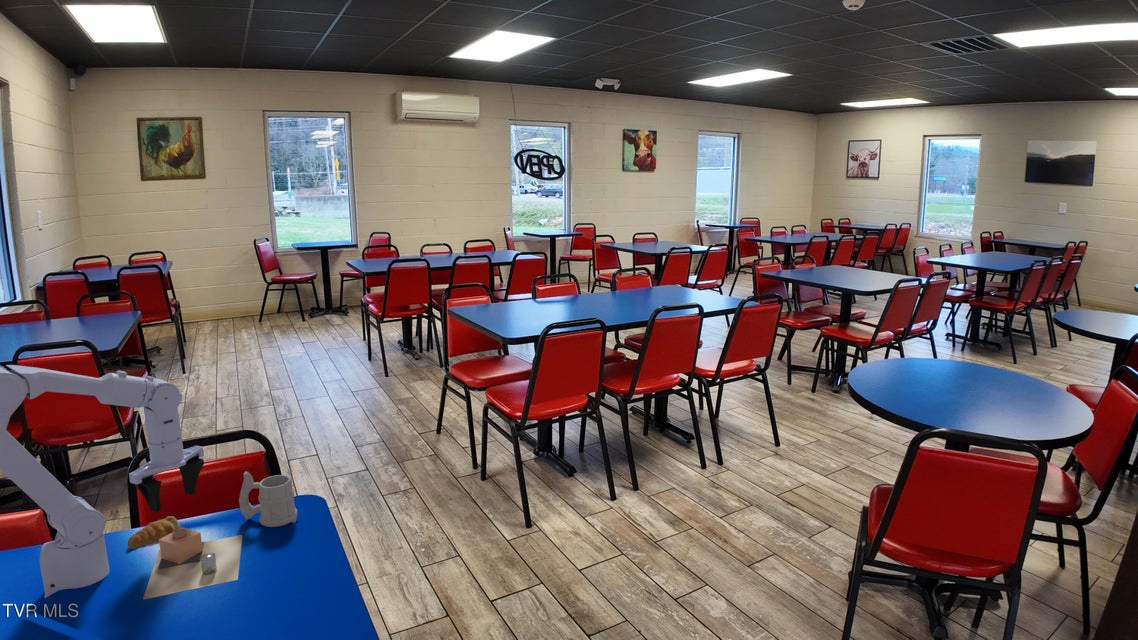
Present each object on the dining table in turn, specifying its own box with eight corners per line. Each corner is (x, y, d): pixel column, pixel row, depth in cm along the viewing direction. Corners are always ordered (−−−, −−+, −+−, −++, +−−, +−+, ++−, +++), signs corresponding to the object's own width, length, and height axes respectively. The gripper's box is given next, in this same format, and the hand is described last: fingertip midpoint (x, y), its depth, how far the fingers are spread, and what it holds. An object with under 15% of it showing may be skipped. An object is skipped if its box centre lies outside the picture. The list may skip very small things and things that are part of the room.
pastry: (137, 556, 132) (134, 539, 131) (121, 546, 135) (119, 529, 135) (185, 536, 139) (183, 519, 138) (170, 526, 143) (167, 510, 142)
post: (201, 576, 123) (199, 560, 122) (203, 569, 125) (201, 554, 125) (216, 573, 124) (214, 557, 123) (217, 566, 126) (215, 551, 125)
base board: (143, 604, 117) (142, 599, 116) (159, 554, 132) (159, 550, 132) (238, 584, 122) (237, 579, 122) (242, 539, 138) (242, 534, 137)
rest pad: (158, 569, 125) (158, 567, 125) (164, 550, 132) (164, 549, 131) (200, 561, 128) (200, 559, 128) (204, 543, 134) (204, 541, 134)
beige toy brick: (179, 563, 126) (176, 541, 125) (161, 558, 128) (158, 535, 127) (202, 550, 131) (199, 528, 130) (184, 545, 133) (181, 523, 132)
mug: (291, 531, 141) (286, 479, 138) (234, 533, 140) (228, 480, 137) (303, 513, 148) (298, 463, 146) (248, 515, 147) (243, 465, 145)
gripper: (143, 456, 123) (153, 522, 126) (211, 429, 136) (218, 490, 139) (118, 450, 125) (127, 515, 128) (186, 424, 138) (194, 484, 141)
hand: (173, 501), depth 134 cm, fingers open, 7 cm apart
